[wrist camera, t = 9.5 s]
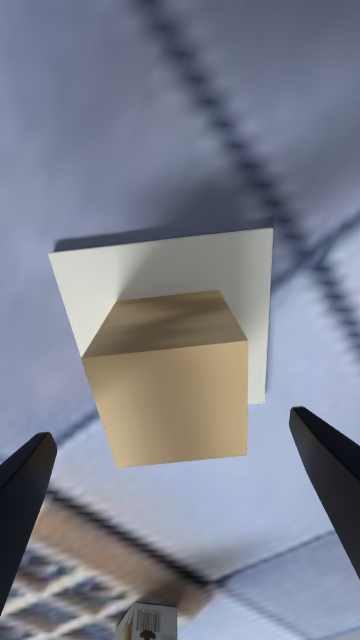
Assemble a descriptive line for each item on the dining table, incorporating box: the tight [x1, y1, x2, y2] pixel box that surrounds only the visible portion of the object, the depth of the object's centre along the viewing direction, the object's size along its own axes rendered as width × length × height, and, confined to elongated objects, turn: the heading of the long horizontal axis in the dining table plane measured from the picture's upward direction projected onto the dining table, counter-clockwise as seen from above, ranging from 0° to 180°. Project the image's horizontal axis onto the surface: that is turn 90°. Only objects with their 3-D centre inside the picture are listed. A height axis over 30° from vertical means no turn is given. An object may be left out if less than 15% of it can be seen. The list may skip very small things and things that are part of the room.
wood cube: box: [81, 290, 248, 468], centre depth 13 cm, size 6×6×6 cm
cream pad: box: [48, 228, 273, 405], centre depth 16 cm, size 12×12×1 cm
